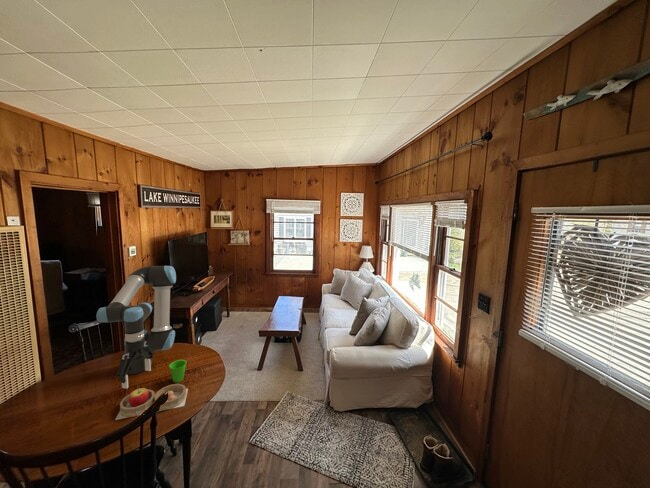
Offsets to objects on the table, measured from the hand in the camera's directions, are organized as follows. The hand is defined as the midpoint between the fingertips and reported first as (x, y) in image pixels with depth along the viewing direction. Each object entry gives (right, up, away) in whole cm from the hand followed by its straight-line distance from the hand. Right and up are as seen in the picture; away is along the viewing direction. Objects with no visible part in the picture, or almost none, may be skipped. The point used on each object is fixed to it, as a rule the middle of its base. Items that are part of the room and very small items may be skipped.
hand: (137, 378), depth 129 cm
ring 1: (0, -15, +1) cm, 15 cm away
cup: (+8, -14, +23) cm, 28 cm away
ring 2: (+13, -15, +6) cm, 21 cm away
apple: (0, -15, +2) cm, 15 cm away
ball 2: (+15, -15, +5) cm, 21 cm away
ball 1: (+12, -14, +8) cm, 20 cm away
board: (+6, -16, +4) cm, 17 cm away
